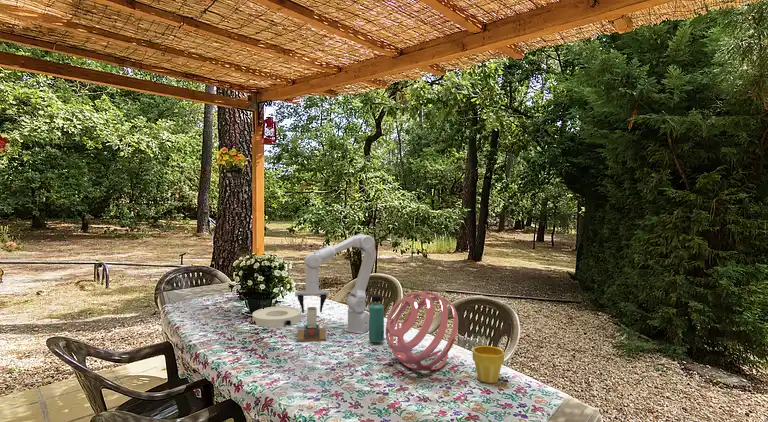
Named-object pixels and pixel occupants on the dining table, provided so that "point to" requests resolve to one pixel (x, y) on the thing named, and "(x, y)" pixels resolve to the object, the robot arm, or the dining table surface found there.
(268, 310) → the ashtray
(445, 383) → the dining table surface
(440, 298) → the spiral basket
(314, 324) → the grayish brown rectangular block
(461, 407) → the dining table surface
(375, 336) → the beverage bottle
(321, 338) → the stand base
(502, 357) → the plant pot
